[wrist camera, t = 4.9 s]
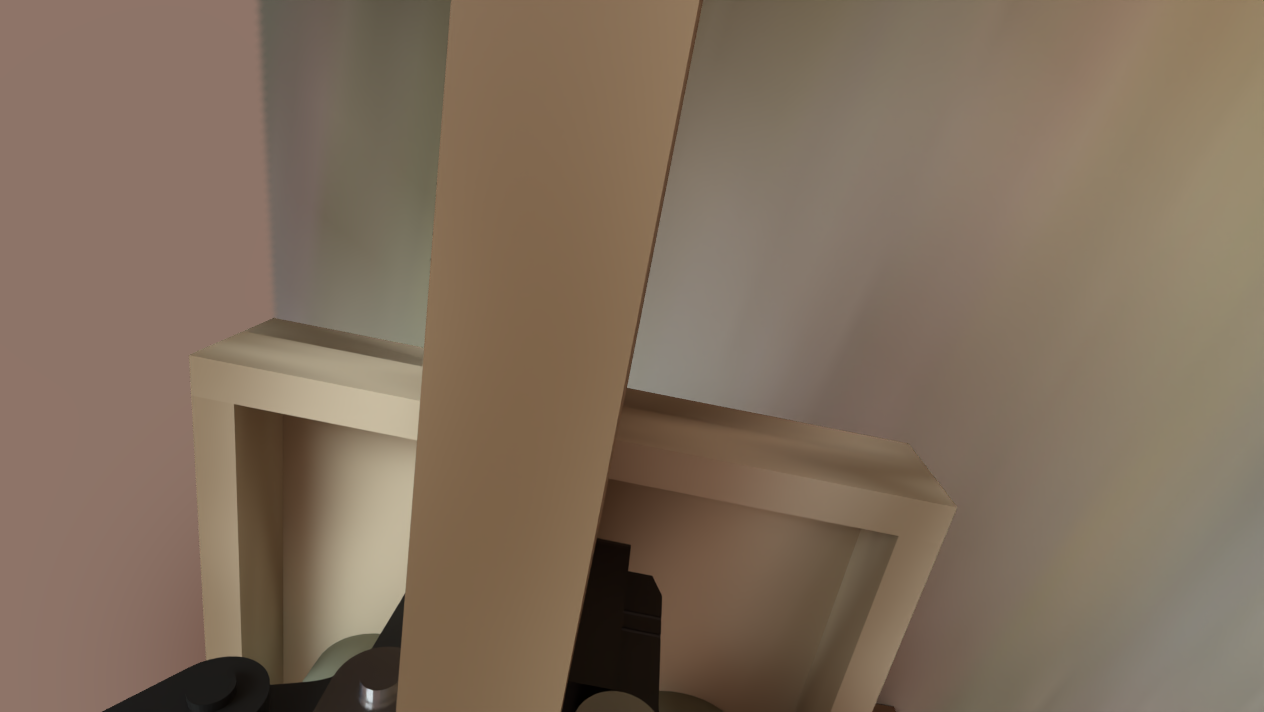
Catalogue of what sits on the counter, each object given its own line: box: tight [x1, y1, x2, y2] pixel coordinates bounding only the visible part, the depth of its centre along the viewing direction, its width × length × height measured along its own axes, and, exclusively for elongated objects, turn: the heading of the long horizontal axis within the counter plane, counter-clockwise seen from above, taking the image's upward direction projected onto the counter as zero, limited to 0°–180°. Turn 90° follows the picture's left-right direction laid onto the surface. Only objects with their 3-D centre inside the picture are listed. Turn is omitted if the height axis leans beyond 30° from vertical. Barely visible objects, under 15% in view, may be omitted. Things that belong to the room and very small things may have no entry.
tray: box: [189, 0, 957, 712], centre depth 10 cm, size 14×23×8 cm, turn 169°
